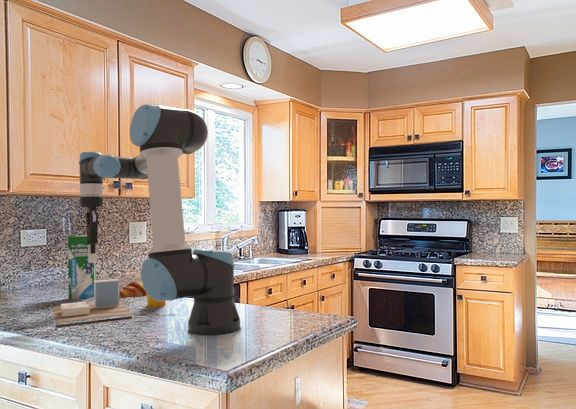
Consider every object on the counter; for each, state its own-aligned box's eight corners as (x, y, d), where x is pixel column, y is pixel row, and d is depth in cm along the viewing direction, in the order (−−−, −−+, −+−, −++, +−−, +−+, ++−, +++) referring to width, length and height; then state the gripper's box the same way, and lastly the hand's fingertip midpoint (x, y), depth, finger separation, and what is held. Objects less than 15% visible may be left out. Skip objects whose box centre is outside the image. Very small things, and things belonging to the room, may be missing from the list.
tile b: (119, 305, 167) (119, 279, 167) (94, 308, 163) (94, 281, 163) (118, 304, 169) (118, 278, 169) (94, 306, 166) (93, 280, 166)
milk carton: (95, 296, 193) (95, 234, 193) (94, 300, 185) (93, 235, 185) (71, 297, 191) (70, 235, 190) (68, 302, 182) (67, 236, 182)
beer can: (160, 311, 164) (160, 267, 164) (144, 310, 165) (143, 267, 165) (168, 307, 170) (167, 265, 170) (152, 307, 171) (152, 265, 171)
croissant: (158, 301, 199) (153, 283, 202) (171, 292, 193) (165, 273, 196) (110, 309, 183) (105, 289, 186) (123, 299, 177) (117, 279, 180)
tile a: (87, 309, 162) (89, 314, 154) (60, 311, 158) (62, 317, 150) (86, 301, 162) (89, 306, 154) (60, 304, 158) (62, 309, 150)
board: (132, 318, 154) (132, 314, 154) (56, 327, 144) (56, 322, 144) (119, 304, 177) (119, 300, 177) (53, 311, 167) (53, 306, 167)
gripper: (105, 195, 166) (106, 263, 166) (99, 196, 177) (100, 260, 177) (82, 195, 162) (83, 265, 162) (77, 196, 173) (78, 261, 173)
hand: (92, 262), depth 170 cm, fingers closed
